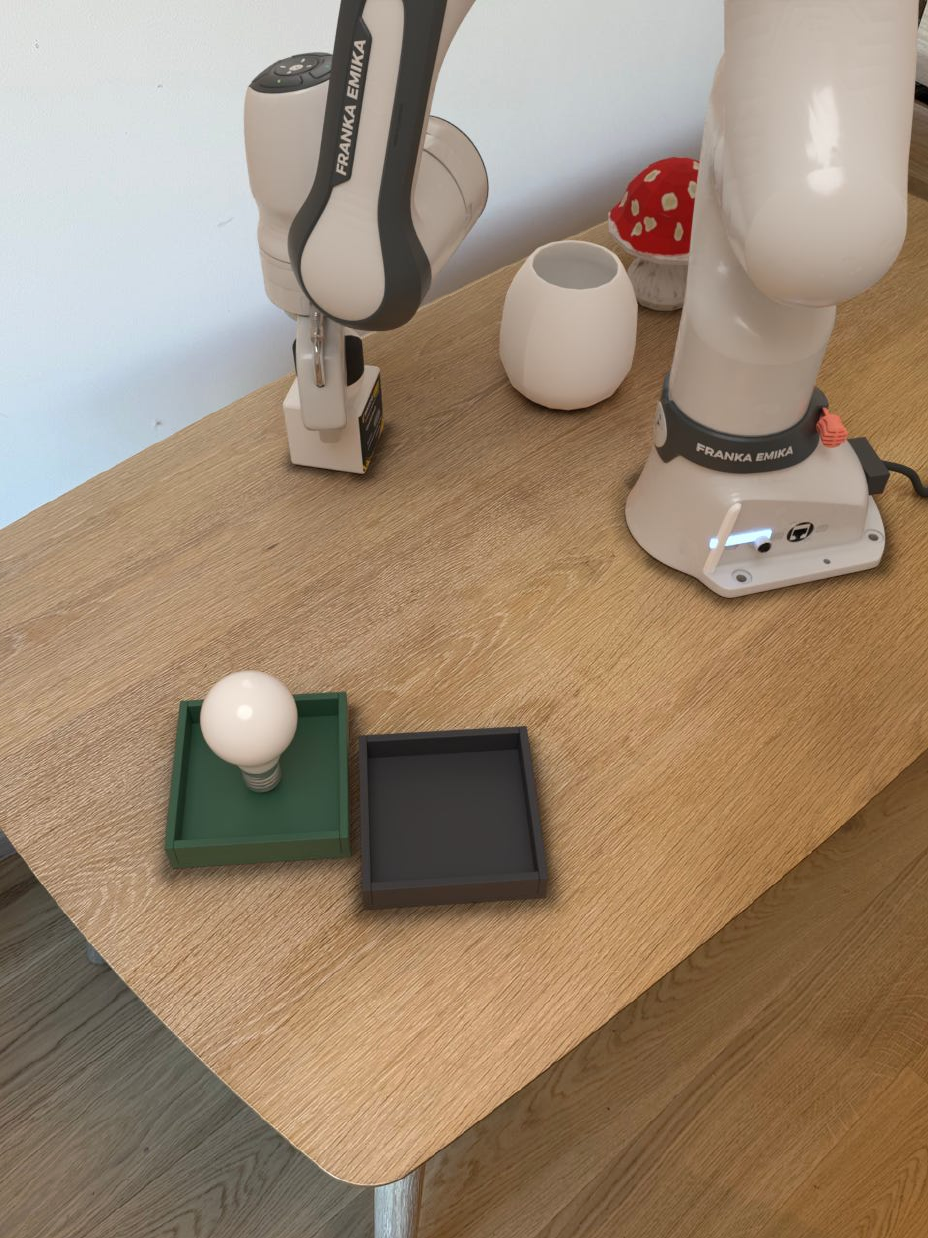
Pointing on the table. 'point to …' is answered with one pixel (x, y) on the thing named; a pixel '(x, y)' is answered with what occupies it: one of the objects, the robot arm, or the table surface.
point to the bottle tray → (449, 818)
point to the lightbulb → (250, 725)
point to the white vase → (569, 325)
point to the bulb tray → (263, 794)
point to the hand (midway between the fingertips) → (330, 403)
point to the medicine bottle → (360, 418)
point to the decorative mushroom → (658, 230)
